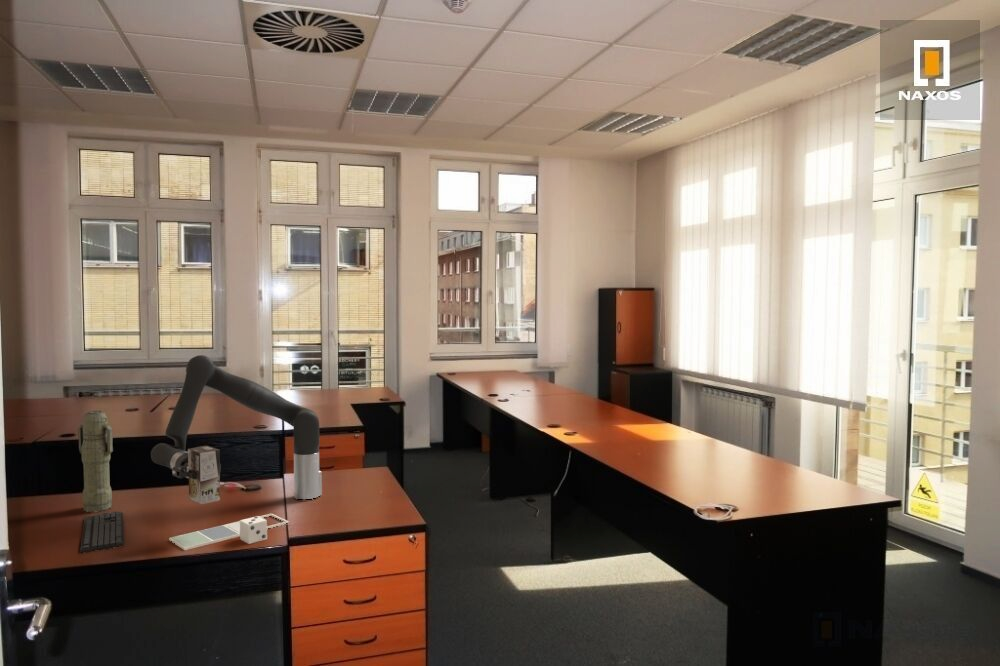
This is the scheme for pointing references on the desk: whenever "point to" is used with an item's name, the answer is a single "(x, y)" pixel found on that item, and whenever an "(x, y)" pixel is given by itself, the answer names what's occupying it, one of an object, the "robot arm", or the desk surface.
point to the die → (253, 529)
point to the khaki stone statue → (96, 460)
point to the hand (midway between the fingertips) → (207, 474)
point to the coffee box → (204, 474)
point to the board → (214, 534)
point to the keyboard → (102, 532)
